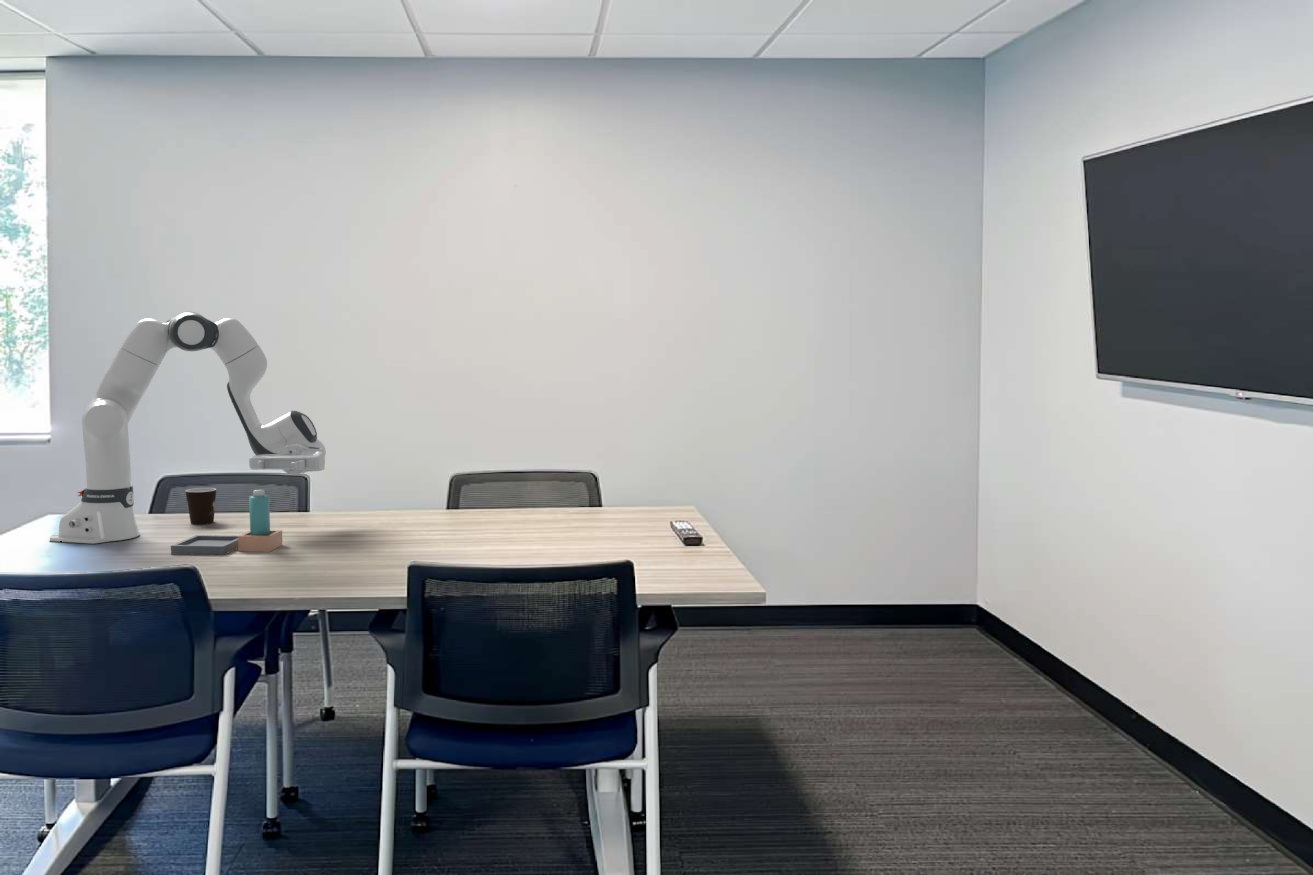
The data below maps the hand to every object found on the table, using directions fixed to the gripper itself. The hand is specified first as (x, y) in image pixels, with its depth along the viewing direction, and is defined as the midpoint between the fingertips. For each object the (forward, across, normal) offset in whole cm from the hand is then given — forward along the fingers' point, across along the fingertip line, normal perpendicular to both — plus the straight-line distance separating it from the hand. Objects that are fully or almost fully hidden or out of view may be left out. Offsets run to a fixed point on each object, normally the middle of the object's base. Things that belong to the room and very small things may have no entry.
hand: (276, 465), depth 294 cm
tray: (+14, -13, +20) cm, 28 cm away
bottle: (+12, 0, +20) cm, 24 cm away
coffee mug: (-24, -33, +21) cm, 45 cm away
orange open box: (+12, 0, +20) cm, 24 cm away
